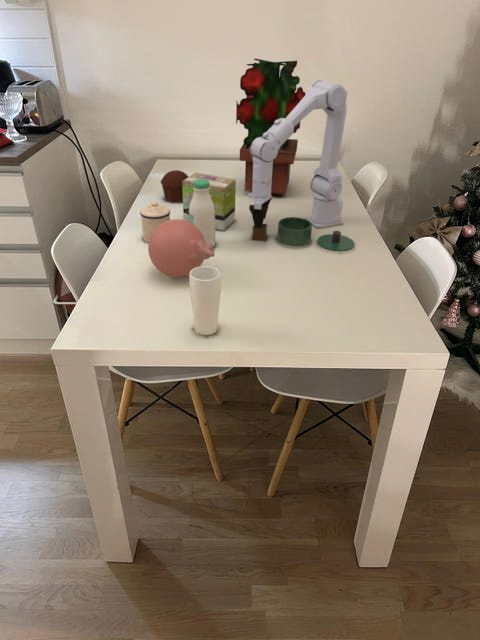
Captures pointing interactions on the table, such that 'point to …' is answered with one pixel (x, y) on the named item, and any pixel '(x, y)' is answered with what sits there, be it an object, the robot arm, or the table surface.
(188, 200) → the tea box
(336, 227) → the table surface
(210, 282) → the drinking glass
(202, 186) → the milk bottle
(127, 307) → the table surface
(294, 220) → the pot
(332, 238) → the lid
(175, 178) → the muffin
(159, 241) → the balloon
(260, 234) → the block
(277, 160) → the potted plant
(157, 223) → the teacup with lid
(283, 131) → the robot arm
